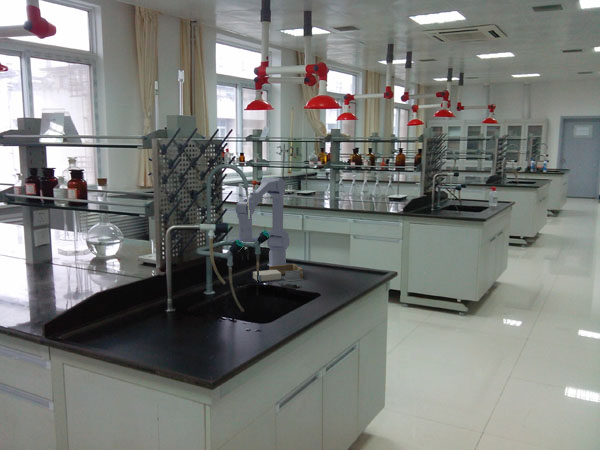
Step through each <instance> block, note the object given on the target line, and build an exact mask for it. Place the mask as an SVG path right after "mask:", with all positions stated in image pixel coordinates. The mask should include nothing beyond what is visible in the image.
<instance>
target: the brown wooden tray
mask: <svg viewBox="0 0 600 450" xmlns="http://www.w3.org/2000/svg"><path fill="white" fill-rule="evenodd" d="M268 267H269V268H268V270H278V271H279V272H280V273H281V275H285V271H295V270H300V277H301V278H302V279H304V269H303V268H302V267H300V266H299V265H297V264H295V263H286V265H276V266H268Z"/></svg>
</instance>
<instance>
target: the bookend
mask: <svg viewBox="0 0 600 450" xmlns="http://www.w3.org/2000/svg"><path fill="white" fill-rule="evenodd" d="M284 278H285V279H284V280H286V281H288V282H296V281H303V280H304V278H301V277H300V270H295V271H285V274H284Z"/></svg>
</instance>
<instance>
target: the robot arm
mask: <svg viewBox="0 0 600 450" xmlns="http://www.w3.org/2000/svg"><path fill="white" fill-rule="evenodd" d="M266 194H269V195H270V196H271V197H272V199H271V200H272V209H271V210H272V211H271V212H272V214H271V215H272V216H271V217H272V218H271V219H272V220H271V221H272V222H271V223H272V224H271V225H272V226H271V227H272V228H271V230H270V231H269V232H268V233H269V235H270V237H269V239H268V240H266V244H267V247H268V248H269V252H268V259H269V260H268V263H267V266H268V267H269V266H276V265H286V264H287V261H286V260H287V257H286V256H287V255H286V254H287V253H286V252H287V249H288V247H290V243H291V242H290V236H289V232H287V231H286V230H285V229H284V195H285V194H286V182H285V180H284V179H283V178H281V177H279V178H278V177H263V178H262V179H261V180H260V185H258V188H257V189H256V190H255V191H250V192H249V194H248V195H247V196H248V197H249V210H250V219H248V206H247V196H246V197H245V198H244V199H243V200H240V201H238V202H237V203H236V206H235V213H236V217H237V219H238V238H233V239H228V242H229V241H234V240H240V241H243V242H256V241H257V238H258V237H253V214H254V213H255V210H256V207H257V206H258V205H259V203H261V201H262V197H263V196H265V195H266ZM245 249H246V251H247V253H246V254H247V255H245ZM253 250H254V248H252V247H247V246H245V247H243V248H242V249H241V250H239V253H240V256H241V260H242V261H245V260H246V258H247V260H249V261H250V260H251V257H252V253H253Z"/></svg>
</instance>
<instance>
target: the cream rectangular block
mask: <svg viewBox="0 0 600 450" xmlns="http://www.w3.org/2000/svg"><path fill="white" fill-rule="evenodd" d="M258 271H259V276H258V280H259V282H266V281H268V282H269V281H276V280H282V274H281V273H280V272H279V271H278V270H269V269H267V270H258ZM252 279H254V280H255V281H256V282H258V281H257V270H256V271H252Z"/></svg>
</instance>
